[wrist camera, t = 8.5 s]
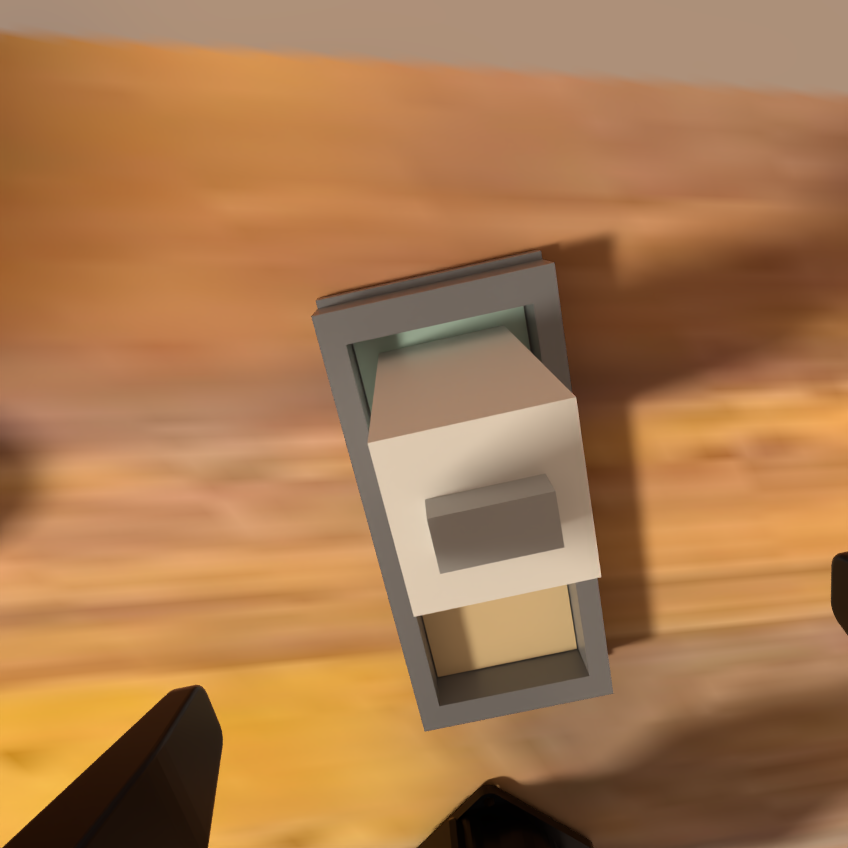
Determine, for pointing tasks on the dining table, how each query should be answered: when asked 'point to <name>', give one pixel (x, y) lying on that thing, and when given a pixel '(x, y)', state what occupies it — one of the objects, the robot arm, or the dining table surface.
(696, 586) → the dining table surface
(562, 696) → the socket panel
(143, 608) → the dining table surface
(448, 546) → the plug
